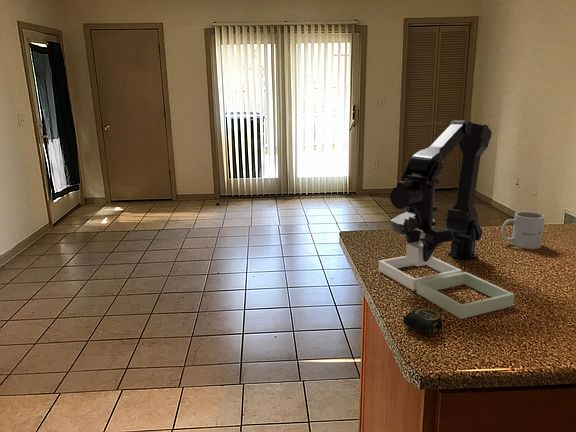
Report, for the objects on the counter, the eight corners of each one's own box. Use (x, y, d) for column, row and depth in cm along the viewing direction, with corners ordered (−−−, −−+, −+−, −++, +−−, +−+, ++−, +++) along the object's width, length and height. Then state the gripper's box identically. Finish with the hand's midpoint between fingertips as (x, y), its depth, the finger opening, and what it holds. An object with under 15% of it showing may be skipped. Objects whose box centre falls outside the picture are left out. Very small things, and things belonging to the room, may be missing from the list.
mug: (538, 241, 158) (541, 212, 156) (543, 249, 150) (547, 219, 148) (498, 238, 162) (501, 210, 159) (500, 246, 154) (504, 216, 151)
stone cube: (420, 257, 133) (421, 240, 132) (432, 263, 129) (433, 245, 127) (405, 260, 131) (406, 243, 130) (417, 266, 127) (418, 248, 126)
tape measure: (401, 328, 103) (402, 312, 102) (422, 319, 106) (423, 304, 105) (426, 341, 97) (427, 324, 96) (448, 331, 101) (449, 315, 100)
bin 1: (423, 262, 141) (423, 252, 140) (461, 280, 127) (461, 270, 126) (378, 270, 135) (378, 260, 134) (413, 290, 121) (413, 279, 120)
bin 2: (464, 282, 126) (465, 271, 125) (512, 305, 112) (514, 294, 111) (416, 292, 120) (417, 281, 119) (461, 318, 106) (462, 306, 105)
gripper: (376, 198, 131) (374, 252, 135) (420, 213, 114) (416, 274, 118) (409, 194, 135) (407, 246, 139) (456, 208, 119) (452, 267, 123)
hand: (419, 258), depth 130 cm, fingers closed on stone cube, 5 cm apart
